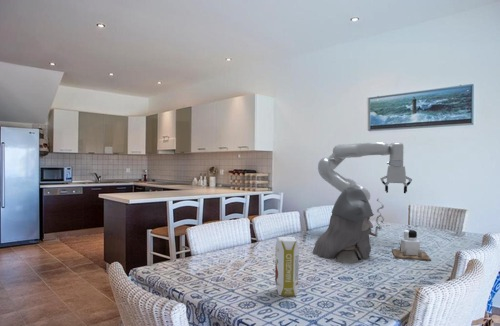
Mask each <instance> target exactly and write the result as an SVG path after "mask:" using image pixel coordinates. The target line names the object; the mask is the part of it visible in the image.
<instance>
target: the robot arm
mask: <svg viewBox="0 0 500 326" xmlns="http://www.w3.org/2000/svg"><path fill="white" fill-rule="evenodd" d="M365 156H389V157H388V158H389V160H388V161H386V164H387V165H388V166H387V171H386V175H384V176H382V177H380V181H381V183H382V184H383V185H384V191H385V192H386V193H389V186H388V185H389V184H403V185H404V186H403V194H407V192H408V186H409V185H411V183H412V181H413V179H412V178H411V177H408V176H407V175H406V174H407V172H406V166H404V144H403V143H402V142H392V143H386V142H382V141H380V142H377V141H376V142H366V143H365V142H364V143H361V142H360V143H348V144H346V143H345V144H337V145H334V146H333V148H332V154H330V155H329V156H328V157H322V158H320V160H319V161H318V164H317V170H318V174H319V176H320V177H321V179H323V180H324V181H326V183H328V184H330V186H332V187H333V188H335V189H336V190H338V191H339V192H341V193H342V192H343V191H344V190H345V189H346V188H348V187H351V186H353V187H357V188H359V189H361V190H362V191H363V192H364V194H365V196H366V198H367V200H368V202H369V201H370V200H371V193H370V191H369V190H368V189H367V188H365V187H364V186H363V185H361V184H360V183H358V182H357V181H355V180H353V179H350V178H346V177H344V176H343V175H341V174H340V173H338V172H336V171H335V169H337V167H338V166H339V165H341V163H342V162H343V161H345V159H347V158H361V157H365ZM385 179H386V182H385V181H384V180H385ZM407 180H408V181H407ZM341 193H340V194H341ZM369 242H370V243H371V238H369Z"/></svg>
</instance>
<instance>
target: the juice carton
mask: <svg viewBox="0 0 500 326" xmlns="http://www.w3.org/2000/svg"><path fill="white" fill-rule="evenodd" d="M298 243H299V242H298V240H296V238H295V237H294V236H277V237H276V242H275V262H274V263H275V264H274V265H275V269H274V270H275V271H274V273H275V274H274V275H275V278H274V280H275V281H274V282H275V283H274V284H275V286H276V287H275V288H276V290H277V294H278V296H279V295H282V296H281V297H295V296H297V295H298V290H299V270H300V268H299V266H300V265H299V262H300V261H299V259H300V258H299V257H300V252H299V251H300V247H299V244H298ZM284 295H285V296H284Z"/></svg>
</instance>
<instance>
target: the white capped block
mask: <svg viewBox="0 0 500 326" xmlns="http://www.w3.org/2000/svg"><path fill="white" fill-rule="evenodd" d="M417 236H418V233H417V231H416V230H413V229H405V230H403V237H402V238H400V244H401V252H402V253H403V248H405V249H406V255H415V256H418V250H421V249H420V248H421V245H420V244H421V241H419V240H418V239H417V238H418V237H417Z"/></svg>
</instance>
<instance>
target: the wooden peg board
mask: <svg viewBox="0 0 500 326" xmlns="http://www.w3.org/2000/svg"><path fill="white" fill-rule="evenodd" d="M391 253H392V254H393V257H394V258H395V259H398V260H399V259H401V260H411V261H412V260H413V261H421V262H424V261H425V262H432V258H431V257H430V256H429V255H428V254H427V252H425V251H423V250H422V249H420V250H418V256H415V255H406V249H405V248H403V253H402V252H401V243H399V249H397V248H391Z"/></svg>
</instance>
